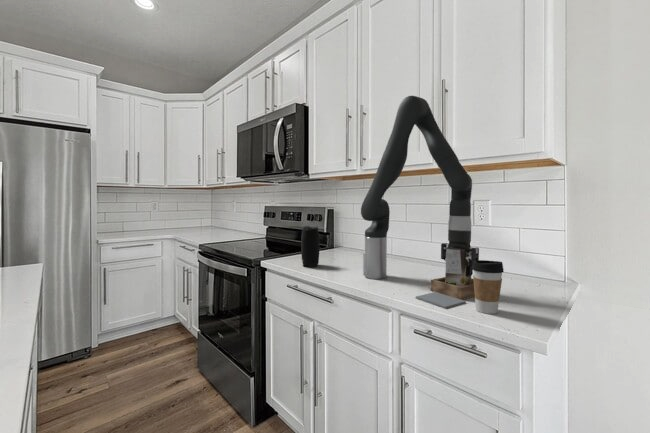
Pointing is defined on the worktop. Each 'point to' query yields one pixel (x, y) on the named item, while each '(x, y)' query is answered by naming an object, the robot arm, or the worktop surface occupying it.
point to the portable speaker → (310, 246)
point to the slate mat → (440, 300)
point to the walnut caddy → (453, 289)
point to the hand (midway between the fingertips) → (458, 274)
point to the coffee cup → (487, 285)
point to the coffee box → (456, 267)
